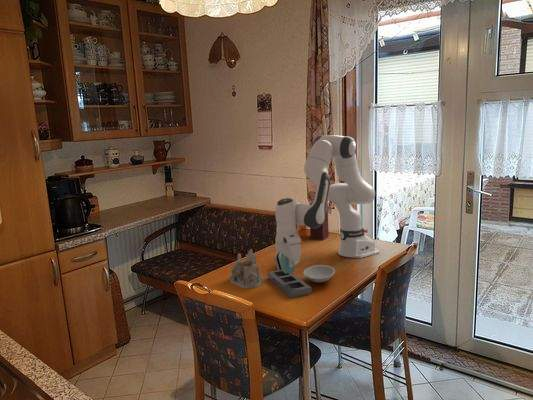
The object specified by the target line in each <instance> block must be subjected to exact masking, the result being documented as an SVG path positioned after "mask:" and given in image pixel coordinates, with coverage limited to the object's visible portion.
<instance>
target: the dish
mask: <svg viewBox="0 0 533 400" xmlns="http://www.w3.org/2000/svg"><path fill="white" fill-rule="evenodd" d="M302 274H303V276H304V277H306V278H307V279H308V280H309V281H311V282H314V283H324V282H326V281H328V280H330V279H331V278H332V277H333V276H334V275H335V274H336V269H335V268H334V267H332V266H329V265H325V264H314V265H312V266H311V265H310V266H309V267H308V266H307V268H305V269H304V270H303V272H302Z"/></svg>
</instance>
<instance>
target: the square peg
mask: <svg viewBox="0 0 533 400" xmlns="http://www.w3.org/2000/svg"><path fill="white" fill-rule="evenodd" d="M288 263H289V260H288V258H287V257H286V256H284V255H283V254H281V265H282V269H281V270H282V271H283V272H284V273H285V274H287V273H293V274H294V273H295V271H296V270H295V266H294V262H293V267H288Z"/></svg>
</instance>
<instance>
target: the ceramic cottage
mask: <svg viewBox="0 0 533 400" xmlns="http://www.w3.org/2000/svg"><path fill="white" fill-rule="evenodd" d="M230 272H231V275H230V277H229V283H231V284H232V285H235V286H237V287H240V288H243V289H251V288H252V289H253V288H254V289H255V288H258V287H260V286H261V284H262V283H263V282H264V280H263V277H262V274H261V272H260V265H258V263H257V254H256V253H255V254H254V253H253V249H252V248H250V249H249V251H248V253H247V254H245V261H243V260H242V254H241V253H237V258H236V261H235V263H234V264H233V265H232V267H230Z"/></svg>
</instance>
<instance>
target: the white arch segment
mask: <svg viewBox="0 0 533 400" xmlns="http://www.w3.org/2000/svg"><path fill="white" fill-rule="evenodd" d="M274 262H275V265H276V269H277V270H282V265H281V253H280V252H279V251H277V252H276V254H275V255H274ZM298 262H299V263H300V262H301V259H300V260H299V261H294V265H295V266H296V265H297V264H299V263H298Z"/></svg>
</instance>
